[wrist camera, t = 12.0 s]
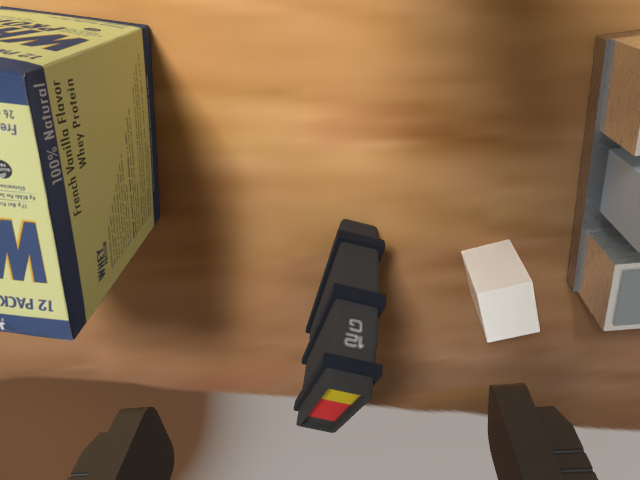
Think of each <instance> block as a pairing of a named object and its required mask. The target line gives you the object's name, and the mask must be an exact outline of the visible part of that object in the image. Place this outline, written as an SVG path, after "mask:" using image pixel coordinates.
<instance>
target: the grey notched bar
mask: <svg viewBox="0 0 640 480" xmlns="http://www.w3.org/2000/svg"><path fill="white" fill-rule="evenodd" d="M622 147H623V148H624V149H625V150H627V151H628V152H629V153H631V154H632V155H634V156H640V30H636V31H629V32H622V33H615V34H608V35H601V36H596V44H595V52H594V60H593V68H592V77H591V85H590V93H589V101H588V110H587V118H586V126H585V134H584V142H583V151H582V159H581V167H580V175H579V184H578V192H577V200H576V208H575V216H574V225H573V233H572V241H571V249H570V258H569V266H568V274H567V283H568V284H569V286H570V287H571V289H572V290H573V292H575V291H577V292H578V293H579V295H580V296H581V298H582V299H583V301H584V303H585V304H586V306H587V307H588V309H589V310H590V312H591V313H592V315H593V316H594V318H595V319H596V321H597V322H598V324H599V325H600V327H601V328H602V330H603V331H612V330H625V329H638V328H640V253H639V252H638V251H637V250H636V249H635V248H634V247H633V246H632V245H631V244H630V243H629V242H628V241H627V240H626V239H625V237H624V236H623V235H622V234H621V233H620V232H619V231H618V230H617V229H616V228H615V227H614V226H613V225H612V224H611V223H610V222H609V220H608V219H607V218H606V217H605V216H604V215H603V214H602V213H601V212H600V206H601V199H602V193H603V186H604V179H605V173H606V166H607V159H608V153H609V149H613V148H622Z"/></svg>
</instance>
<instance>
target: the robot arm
mask: <svg viewBox="0 0 640 480" xmlns="http://www.w3.org/2000/svg"><path fill="white" fill-rule="evenodd" d="M488 438H489V444H490V451H491V455H492V459H493V462H494V466H495V470H496V473H497V477H498V480H598V479H597V477H596V474H595V473H594V472H593V470H592V466H591V464H590V461H589V459H588V457H587V455H586V453H584V450H583V447H582V444H581V442H580V440H579V438H578V436H577V434H576V432H575V429H574V427H573V425H572V424H571V423H570V422H569V421H568V420H567V419H566V418H565V417H564V416H563V415H562V414H561V413H560V412H559V411H558V410H557V409H556V408H555V407H554V406H550V407H535V405H534V403H533V401H532V398H531V396H530V393H529V391H528V388H527V387H526V385H525V384H524V383H516V384H501V385H490V387H489V405H488ZM173 467H174V450H173V446H172V443H171V441H170V439H169V436H168V434H167V433H166V430H165V428H164V426H163V423H162V421H161V419H160V417H159V415H158V412H157V411H156V409H155V408H154V407H140V408H125V409H121V410H120V411H119V412H118V413H117V415H116V417H115V419H114V421H113V423H112V425H111V427H110V429H109V431H108V432H104V433H99V434H98V435H97V436H96V438H95V439H94V440H93V441H92V442H91V443H90V444H89V445H88V446H87V447H86V448H85V450H84V451H83V452H82V453H81V455H80V457H79V459H78V461H77V463H76V465H75V467H74V469H73V471H72V472H71V477H69V478H68V480H170V478H171V475H172V472H173Z"/></svg>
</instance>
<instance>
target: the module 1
mask: <svg viewBox="0 0 640 480" xmlns="http://www.w3.org/2000/svg"><path fill="white" fill-rule="evenodd" d="M461 254H462V259H463V263H464V267H465V271H466V276H467V280H468V284H469V289H470V293H471V297H472V300H473V303H474V306H475V308H476V311H477V314H478V317H479V320H480V323H481V326H482V328H483V331H484V334H485V337H486V340H487V343H489V342H494V341H498V340H503V339H508V338H513V337H518V336H522V335H527V334H532V333H537V332H540V328H539V321H538V315H537V309H536V302H535V296H534V289H533V283H532V280H531V278H530V276H529V274H528V272H527V271H526V269H525V267H524V265H523V263H522V261H521V260H520V258H519V256H518V254H517V252H516V251H515V249H514V247H513V245H512V243H511V241H510V240H509V239H508V240H504V241H500V242H496V243H492V244H488V245H484V246H480V247H476V248H472V249H468V250H464V251H461Z"/></svg>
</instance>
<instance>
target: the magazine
mask: <svg viewBox="0 0 640 480" xmlns="http://www.w3.org/2000/svg"><path fill="white" fill-rule="evenodd" d="M384 249H385V242H384V240H381V239H377V228H376V227H374V226H371V225H367V224H363V223H359V222H355V221H351V220H347V219H343V220H342V221H341V223H340V226H339V229H338V231H337V234H336V238H335V241H334V244H333V247H332V250H331V253H330V256H329V259H328V262H327V265H326V268H325V271H324V275H323V278H322V281H321V284H320V287H319V290H318V293H317V296H316V299H315V302H314V305H313V308H312V311H311V315H310V318H309V321H308V324H307V327H306V333H310V341H309V343H308V346H307V348H306V350H305V353H304V355H303V358H302V364H306V370H305V377H304V383H303V389H302V391H301V392H300V394H299V396H298V397H297V399H296V401H295V405H294V410H295V411H299V413H298V418H297V425H298V426H302V427H306V428H311V429H316V430H321V431H326V432H331V433H333V432H336V431H337V430H338V429H339V428H340V427H341V426H342V425H343V424H345V422H346V421H348V420H349V419H350V418H351V417H352V416H353V415H354V414H355V413H356V412H357V411H358V410H359V409H361V408H362V407H363V406H364V405H365V404H366V403H367V402H368V401H369V400H370V399H371V398H372V391H373V385H374V384H375V383H376V382H377V381H378V380H379V379H380V378H381V377H382V367H383V366H382V365H380V364H376V363H375V357H376V346H377V331H378V318H379V316H380V315H381V313H382V312H383V310H384V308H385V307H386V295H385V294H381V293H379V261H380V259H381V257H382V254H383V252H384Z"/></svg>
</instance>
